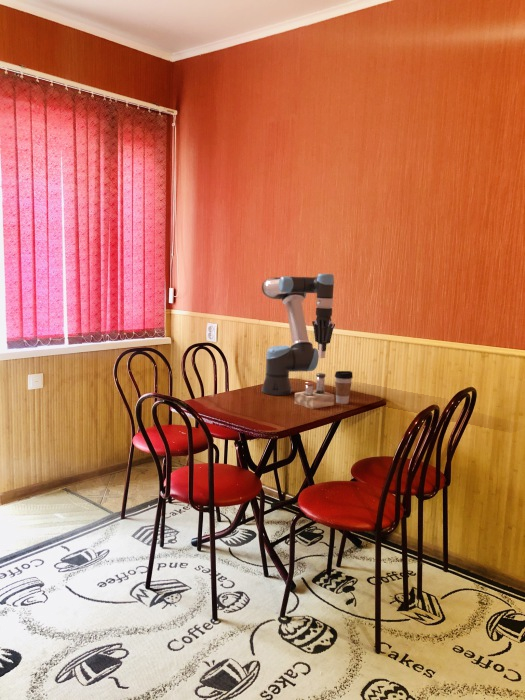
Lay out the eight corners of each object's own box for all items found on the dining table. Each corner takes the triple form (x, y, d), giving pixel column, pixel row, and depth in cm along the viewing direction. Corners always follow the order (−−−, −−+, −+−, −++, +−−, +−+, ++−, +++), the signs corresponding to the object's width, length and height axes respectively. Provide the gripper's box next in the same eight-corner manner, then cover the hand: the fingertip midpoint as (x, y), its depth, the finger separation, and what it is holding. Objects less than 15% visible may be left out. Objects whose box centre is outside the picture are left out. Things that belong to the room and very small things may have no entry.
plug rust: (302, 400, 265) (303, 381, 264) (308, 399, 268) (309, 380, 266) (308, 402, 262) (309, 383, 261) (315, 401, 265) (316, 382, 263)
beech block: (294, 403, 268) (294, 392, 267) (315, 399, 276) (316, 389, 276) (312, 408, 258) (312, 398, 258) (333, 404, 267) (334, 394, 267)
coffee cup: (350, 405, 268) (352, 373, 266) (332, 403, 270) (334, 372, 267) (351, 401, 276) (353, 370, 274) (334, 399, 278) (335, 369, 276)
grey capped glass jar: (313, 392, 269) (314, 373, 268) (320, 391, 272) (320, 372, 270) (320, 394, 266) (321, 375, 265) (326, 393, 269) (327, 374, 267)
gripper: (308, 306, 265) (306, 356, 269) (328, 308, 255) (326, 360, 259) (320, 306, 270) (317, 355, 273) (340, 308, 260) (337, 359, 263)
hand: (321, 357), depth 266 cm, fingers closed
